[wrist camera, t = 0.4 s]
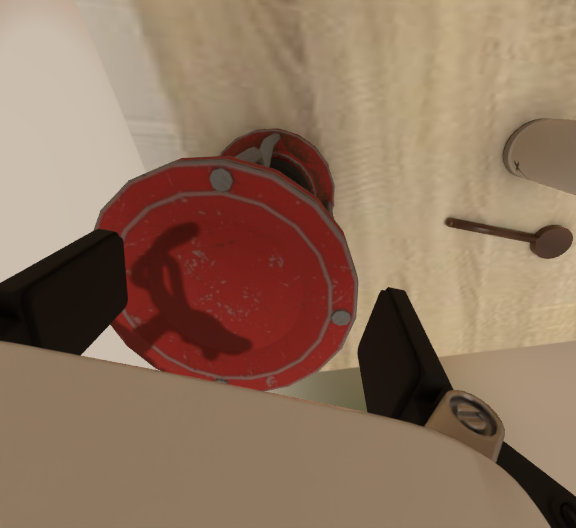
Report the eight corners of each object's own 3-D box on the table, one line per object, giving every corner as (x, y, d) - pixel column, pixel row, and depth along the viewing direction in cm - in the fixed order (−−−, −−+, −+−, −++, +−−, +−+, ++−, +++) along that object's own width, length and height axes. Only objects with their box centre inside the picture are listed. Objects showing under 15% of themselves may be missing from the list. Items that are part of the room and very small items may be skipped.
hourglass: (212, 120, 36) (52, 140, 14) (345, 136, 36) (393, 182, 14) (213, 242, 44) (110, 379, 22) (323, 256, 43) (332, 410, 21)
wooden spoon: (451, 204, 39) (455, 206, 38) (574, 228, 39) (581, 231, 38) (438, 235, 41) (441, 238, 40) (554, 258, 41) (560, 262, 40)
